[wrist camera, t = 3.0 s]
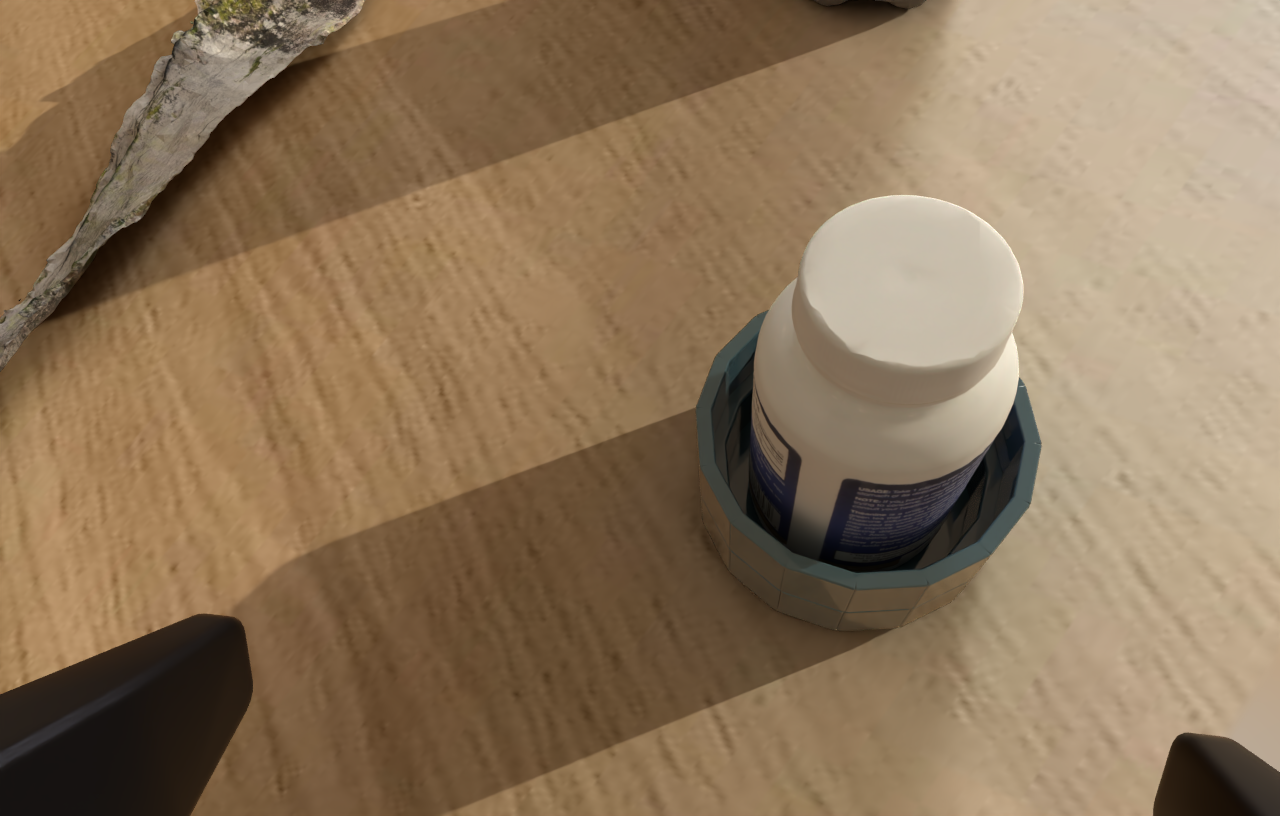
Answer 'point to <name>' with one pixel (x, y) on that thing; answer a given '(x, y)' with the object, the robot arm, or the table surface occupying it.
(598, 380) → the table surface
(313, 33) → the driftwood
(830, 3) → the cup
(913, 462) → the pill bottle
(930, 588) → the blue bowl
